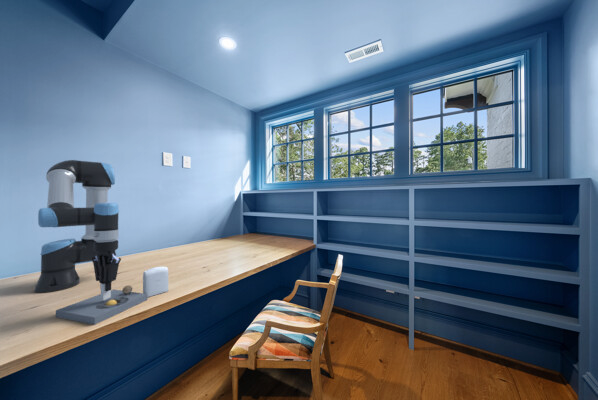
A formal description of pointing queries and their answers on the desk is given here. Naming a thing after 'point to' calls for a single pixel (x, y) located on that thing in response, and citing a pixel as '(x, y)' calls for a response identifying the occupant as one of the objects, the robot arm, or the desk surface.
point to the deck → (100, 307)
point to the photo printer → (155, 281)
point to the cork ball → (127, 289)
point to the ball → (111, 302)
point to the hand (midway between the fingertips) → (105, 298)
